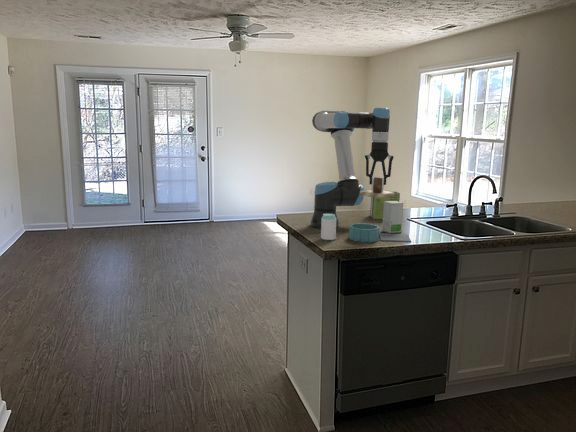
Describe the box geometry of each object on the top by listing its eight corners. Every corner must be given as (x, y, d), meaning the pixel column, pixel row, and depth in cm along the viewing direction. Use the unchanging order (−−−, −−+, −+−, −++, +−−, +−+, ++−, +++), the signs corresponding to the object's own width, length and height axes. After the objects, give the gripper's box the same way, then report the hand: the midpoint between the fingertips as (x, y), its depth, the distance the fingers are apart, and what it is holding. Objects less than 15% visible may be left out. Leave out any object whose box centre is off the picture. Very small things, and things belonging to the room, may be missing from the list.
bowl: (349, 241, 224) (349, 228, 223) (349, 234, 237) (349, 222, 236) (379, 242, 222) (380, 230, 221) (377, 235, 236) (378, 224, 235)
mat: (381, 240, 226) (381, 239, 226) (379, 234, 240) (379, 233, 240) (411, 242, 224) (411, 241, 224) (407, 235, 238) (407, 234, 238)
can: (334, 237, 230) (335, 213, 228) (336, 241, 223) (337, 216, 221) (320, 237, 230) (320, 212, 228) (321, 240, 223) (322, 215, 221)
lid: (359, 196, 219) (360, 178, 218) (360, 192, 235) (360, 175, 234) (395, 197, 217) (396, 179, 216) (393, 193, 233) (394, 176, 231)
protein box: (398, 219, 279) (400, 193, 276) (372, 218, 279) (373, 192, 276) (395, 216, 289) (396, 190, 286) (369, 215, 289) (371, 190, 286)
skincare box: (389, 233, 242) (391, 203, 239) (381, 230, 248) (382, 201, 245) (402, 232, 246) (404, 202, 243) (393, 229, 251) (395, 200, 249)
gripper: (361, 141, 219) (359, 191, 223) (399, 142, 217) (396, 193, 221) (361, 141, 227) (359, 189, 231) (398, 141, 224) (395, 191, 228)
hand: (377, 191), depth 226 cm, fingers closed on lid, 4 cm apart
